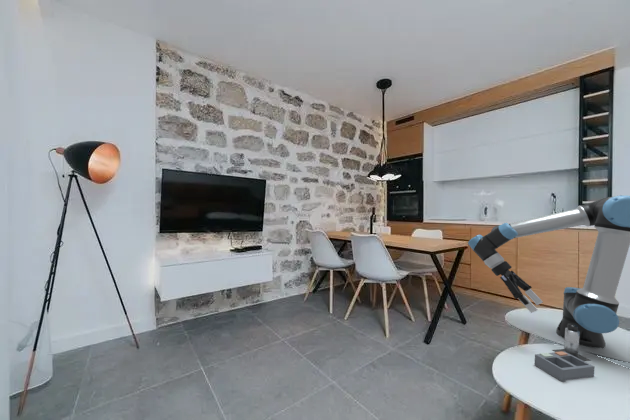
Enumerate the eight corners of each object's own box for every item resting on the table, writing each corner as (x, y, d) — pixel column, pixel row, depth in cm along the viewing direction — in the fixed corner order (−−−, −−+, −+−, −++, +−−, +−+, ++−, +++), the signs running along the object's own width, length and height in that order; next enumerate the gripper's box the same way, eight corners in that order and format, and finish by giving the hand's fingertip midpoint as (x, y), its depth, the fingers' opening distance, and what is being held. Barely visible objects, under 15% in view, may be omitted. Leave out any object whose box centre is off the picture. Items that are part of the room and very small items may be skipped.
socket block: (563, 361, 97) (564, 350, 97) (593, 377, 88) (594, 365, 88) (534, 364, 94) (535, 353, 94) (562, 381, 85) (563, 368, 85)
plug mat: (566, 349, 105) (567, 348, 105) (591, 361, 97) (591, 360, 97) (551, 351, 104) (551, 350, 104) (574, 363, 96) (575, 362, 96)
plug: (568, 351, 103) (570, 322, 102) (580, 357, 99) (582, 327, 99) (561, 352, 102) (562, 323, 102) (572, 358, 98) (574, 327, 98)
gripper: (497, 265, 129) (534, 304, 118) (482, 272, 113) (522, 318, 102) (511, 257, 125) (550, 296, 114) (497, 263, 109) (541, 310, 98)
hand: (537, 307), depth 108 cm, fingers open, 13 cm apart
